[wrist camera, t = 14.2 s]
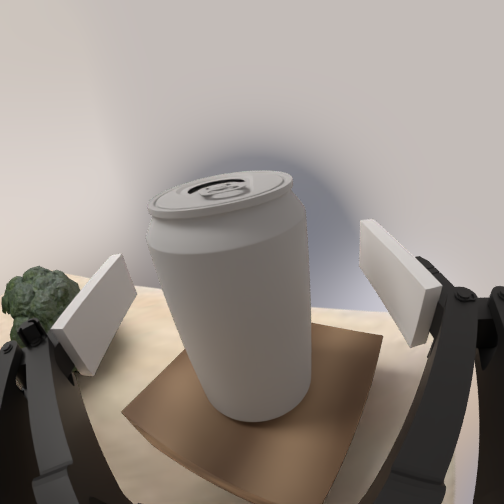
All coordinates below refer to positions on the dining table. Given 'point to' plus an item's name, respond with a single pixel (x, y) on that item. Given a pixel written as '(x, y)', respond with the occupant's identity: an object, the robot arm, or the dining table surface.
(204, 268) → the beverage can
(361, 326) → the dining table surface
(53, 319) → the vegetable
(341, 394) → the walnut block
